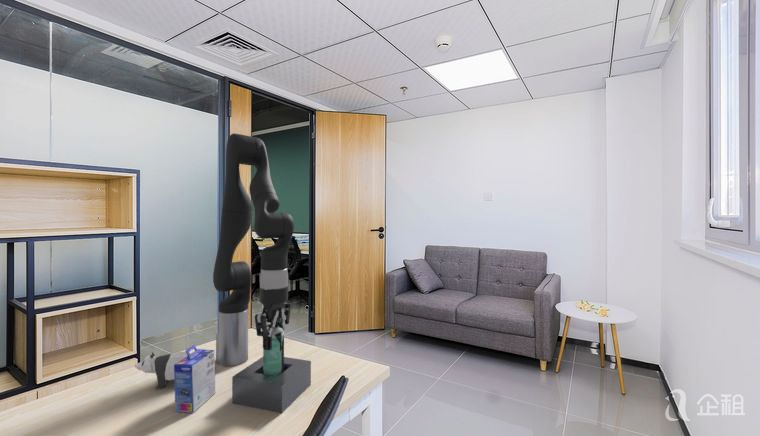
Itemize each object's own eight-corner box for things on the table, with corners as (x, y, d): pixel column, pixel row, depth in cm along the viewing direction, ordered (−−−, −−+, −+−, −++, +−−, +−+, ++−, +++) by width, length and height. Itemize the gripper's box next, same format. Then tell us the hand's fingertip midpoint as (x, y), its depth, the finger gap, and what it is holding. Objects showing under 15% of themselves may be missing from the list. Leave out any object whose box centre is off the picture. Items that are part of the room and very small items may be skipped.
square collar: (232, 402, 91) (232, 376, 91) (266, 376, 105) (266, 354, 105) (281, 413, 86) (282, 385, 86) (310, 384, 101) (310, 360, 101)
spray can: (287, 390, 98) (288, 320, 97) (275, 400, 92) (276, 326, 92) (271, 386, 99) (271, 318, 99) (258, 396, 94) (259, 323, 94)
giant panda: (195, 376, 105) (195, 345, 105) (192, 384, 100) (192, 352, 100) (138, 384, 100) (138, 351, 100) (132, 393, 95) (132, 359, 95)
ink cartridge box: (197, 391, 96) (197, 340, 96) (216, 392, 96) (216, 341, 96) (172, 412, 86) (172, 354, 86) (193, 413, 86) (193, 356, 86)
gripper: (277, 279, 103) (276, 335, 104) (245, 289, 89) (245, 354, 90) (299, 280, 101) (299, 338, 101) (270, 291, 87) (270, 357, 88)
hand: (273, 345), depth 96 cm, fingers closed on spray can, 5 cm apart
